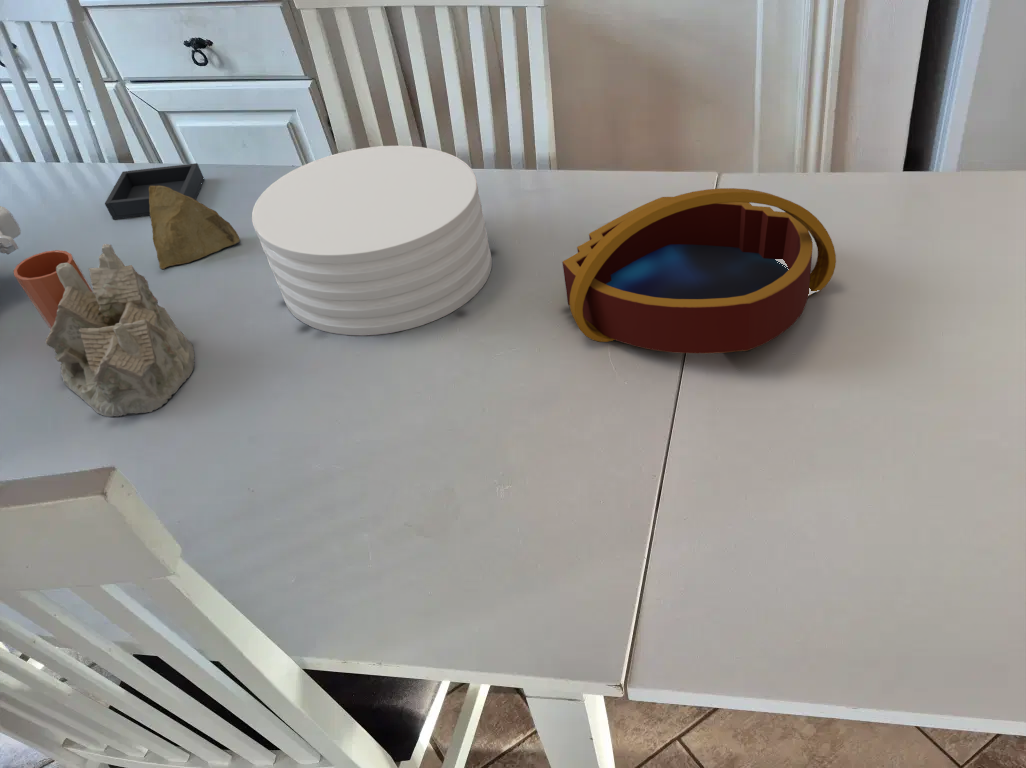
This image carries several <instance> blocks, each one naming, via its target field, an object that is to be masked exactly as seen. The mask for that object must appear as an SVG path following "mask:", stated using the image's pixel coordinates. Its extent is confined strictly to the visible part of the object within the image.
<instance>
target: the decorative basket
mask: <svg viewBox="0 0 1026 768" xmlns="http://www.w3.org/2000/svg"><path fill="white" fill-rule="evenodd" d="M752 204H759V205H752ZM760 205H766V206H760ZM772 207H774V208H778V209H780V210H781V211H777V210H773V208H772ZM588 236H589V238H588V240H587V241H585V242H584V243H582V244H579V245H578V246H577V248H576V249H577V252H576V253H575V254H573V255H571V256H569V257H568V258H566V259H564V260H563V261H562V262H561V263H562V269H563V276H564V283H565V284H564V285H565V291H566V293H565V294H566V300H567V305H568V306H569V310H570V313H571V315H572V318H573V319H574V321H575V323H576V325H577V327H578V329H579V331H580V332H581V333H582V334H583V335H584V336H585V337H587V338H588V339H589V340H592V341H596V342H600V343H609V342H614V341H613V340H616V341H618V342H620V343H623V344H627V345H629V346H634V347H637V348H642V349H646V350H651V351H658V352H666V353H677V354H721V353H722V354H723V353H733V352H742V351H743V352H745V351H749V350H753V349H755V348H758V347H760V346H762V345H764V344H767V343H768V342H770V341H771V340H773V339H775V338H777V337H779V336H780V335H782V334H783V333H785V332H786V331H787V330H789V328H790V327H792V326H793V325H794V324H795V323H796V321H798V319H799V318H800V317H801V315H802V314H803V312H804V310H805V307H806V305H807V302H808V298H809V296H808V294H809V288H810V289H811V291H817V290H820V291H822V290H823V289H824V288H826V286H827V285H828V283H829V282H830V281H831V279H832V278H833V275H834V272H835V270H836V265H837V254H836V250H835V245H834V244H833V240H832V237H831V235H830V234H829V232H828V231H827V229H826V227H825V226H824V225H823V223H822V222H821V221H820V220H819V218H817V216H816V215H814V214H813V213H811V212H810V211H809V210H808V209H806V208H805V207H803V206H801V205H800V204H798V203H796V202H793V201H792V200H788V199H787V198H783V197H781V196H778V195H776V194H773V193H768V192H765V191H760V190H755V189H749V188H735V187H733V188H732V187H731V188H730V187H729V188H728V187H726V188H725V187H724V188H709V189H708V188H707V189H701V190H696V191H690V192H685V193H682V194H678V195H675V196H661V197H657V198H655V199H653V200H650V201H649V202H647V203H646V202H645V203H644V204H642V205H640V206H638V207H636V208H634V209H632V210H630V211H628V212H627V213H624V214H622V215H621V216H618V217H617V218H615V219H612V220H611V221H609V222H607V223H606V224H603V225H602V226H600V227H599V228H598V227H597V229H595V230H593V231H591V232H589V233H588ZM813 240H814V242H815V245H816V249H817V257H816V262H815V265H814V267H813V269H812V260H813V249H814V244H813ZM775 259H783V260H784V261H785V263H786V264H787V266H788V267H786V266H785V265H783V264H781V263H780V262H778V261H776V260H775ZM777 262H778V263H777ZM779 263H780V264H779ZM782 265H783V266H782ZM784 266H785V267H786V268H785V267H784ZM787 268H788V269H789V270H788V269H787ZM811 270H812V271H811Z"/></svg>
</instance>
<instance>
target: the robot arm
mask: <svg viewBox="0 0 1026 768" xmlns="http://www.w3.org/2000/svg"><path fill="white" fill-rule="evenodd" d="M21 234H22V230H21V227H20V225H19V223H18V221H17V219H16V218H15V216H14V215H13V214H12V213H11V211H10V210H9V209H8V208H6V207H5V206H2V205H0V254H6V255H10V254H13V253H14V252H16V251H17V250H19V246H18V244H17V243H16V241H15V239H16V238H18V237H19V236H21Z"/></svg>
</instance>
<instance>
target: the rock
mask: <svg viewBox="0 0 1026 768" xmlns="http://www.w3.org/2000/svg"><path fill="white" fill-rule="evenodd" d="M149 204H150V222H151V224H150V225H151V229H152V230H151V231H152V242H153V246H154V248H155V251H156V258H157V260H158V265H159V266H158V267H159V268H160V269H161V270H165V269H166V268H169V267H173V266H177V265H184V264H188V263H192V262H194V261H197V260H200V259H202V258H204V257H207V256H209V255H211V254H213V253H217V252H219V251H221V250H222V249H224V248H228V247H231V246H233V245H236V244H238V243H240V241H241V240H240V236H239V235H238V232H237V231H236V229H234V227H233V226H232V225H231V223H230V222H228V221H227V220H225V219H224V218H223V217H222V216H221V215H220V214H219V213H218V212H217V211H216V210H214V209H212V208H210V207H208V206H206V205H205V204H204V203H202V202H200V201H198V200H197V199H196V200H195V199H193V198H191V197H189V196H185V195H183V194H181V193H179V192H177V191H174V190H172V189H171V188H168V187H165V186H151V185H150V186H149Z"/></svg>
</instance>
